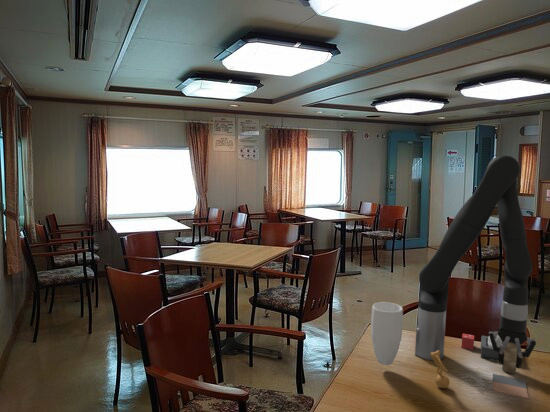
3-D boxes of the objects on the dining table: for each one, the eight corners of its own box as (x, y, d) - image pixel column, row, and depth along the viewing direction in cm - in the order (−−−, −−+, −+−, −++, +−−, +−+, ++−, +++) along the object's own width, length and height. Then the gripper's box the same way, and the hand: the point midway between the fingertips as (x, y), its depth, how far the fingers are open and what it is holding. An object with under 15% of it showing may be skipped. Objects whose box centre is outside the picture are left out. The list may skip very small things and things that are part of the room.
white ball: (487, 352, 148) (488, 333, 147) (487, 345, 154) (488, 327, 153) (509, 357, 144) (511, 337, 144) (508, 349, 151) (510, 330, 150)
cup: (364, 373, 134) (367, 308, 132) (372, 359, 144) (375, 299, 141) (397, 381, 130) (400, 315, 127) (403, 367, 139) (407, 305, 136)
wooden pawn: (501, 371, 136) (504, 341, 135) (501, 365, 140) (503, 336, 139) (517, 374, 134) (519, 344, 133) (516, 368, 138) (518, 339, 137)
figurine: (455, 394, 123) (458, 356, 121) (436, 395, 122) (439, 357, 121) (440, 380, 131) (443, 343, 130) (422, 381, 130) (425, 344, 129)
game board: (493, 390, 125) (493, 389, 125) (492, 374, 135) (492, 373, 135) (528, 398, 121) (528, 397, 121) (524, 381, 131) (524, 380, 131)
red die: (461, 347, 155) (462, 336, 154) (461, 343, 158) (462, 332, 158) (473, 349, 153) (474, 338, 152) (473, 345, 156) (474, 334, 156)
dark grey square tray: (480, 357, 147) (481, 346, 146) (480, 345, 157) (481, 335, 156) (516, 364, 142) (517, 353, 142) (514, 351, 152) (515, 341, 151)
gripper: (489, 315, 135) (485, 365, 137) (540, 323, 129) (535, 375, 131) (489, 308, 142) (485, 355, 144) (537, 315, 135) (533, 365, 137)
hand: (509, 365), depth 137 cm, fingers closed on wooden pawn, 4 cm apart
